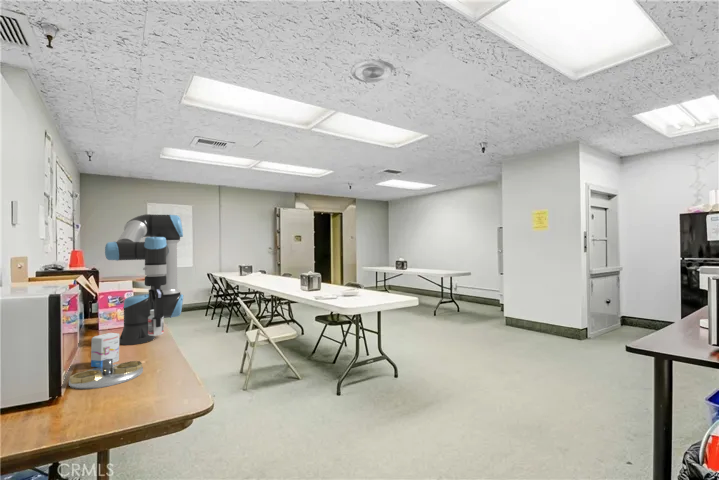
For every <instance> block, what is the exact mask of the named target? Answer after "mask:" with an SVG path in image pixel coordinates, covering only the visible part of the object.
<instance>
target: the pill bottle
mask: <svg viewBox="0 0 719 480" xmlns="http://www.w3.org/2000/svg"><path fill="white" fill-rule="evenodd" d="M150 314H151V315H150V316H149V317H148V335H150V336H154V319H152V318H154V309H153V310H150ZM159 315H160V314H159ZM164 321H165V318H164V316H163V317H162V335H163V334H164V333H165V331H164V329H165V328H164V324H165V323H164Z"/></svg>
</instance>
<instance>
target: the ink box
mask: <svg viewBox="0 0 719 480" xmlns="http://www.w3.org/2000/svg"><path fill="white" fill-rule="evenodd" d="M90 347H91V351H90V354H91V355H90V367H92V368H98V367H103V360H105V359H113V364H115V363H117V362H119V361H120V333H116V332H107V333H104V334H98V335H95V336H93V337H91V346H90Z"/></svg>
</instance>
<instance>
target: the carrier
mask: <svg viewBox="0 0 719 480" xmlns="http://www.w3.org/2000/svg"><path fill="white" fill-rule="evenodd" d="M143 372H144V368H143V363H142V361H140V360H139V361H137V360H134V361H125V362H121V363H118V364H117V363H113V359H105V360H103V367H93V368H91V369H88V370H85V371H81V372H76V373H74V374H72V375H70V376H69V379H68V387H69V386H70V387H69V388H71V389H74V388H75V389H74V390H93V389H94V390H95V389H102V388H107V387H112V386H116V385H120V384H123V383H126V382H129V381H132V380H134V379H136V378H138V377H139V376H140V375H142V374H143Z"/></svg>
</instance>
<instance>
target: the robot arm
mask: <svg viewBox="0 0 719 480" xmlns="http://www.w3.org/2000/svg"><path fill="white" fill-rule="evenodd" d="M183 237H184V232H183V224H182V220H181V217H180V216H179V215H177V214H148V213H147V214H142V215H138V216H136V217H133V218H130V220H128V221H127V222H126V224H124V228H123V232H122V234H121V235H120V237H118V240H117V241H108V242H106V244H105V247H104V254H105V259H107V260H108V261H117V262H118V261H138V260H139V261H142V260H143V261H144V267H142V270H143V271H144V275H145V277H144V286H146V287H150V289H148V290H147V291H148V293H142V294H137V295H132V296H129V297H126V298H125V299H124V301H123V308H122V309H123V328H122V330H121V331H122V332H121V334H120V335H119V345H124V346H127V345H128V346H129V345H139V344H140V345H141V344H145V342H146V343H148V342H147V341H149V342H151V341H150V340H152V341H154V340H155V339H156V337H157V336H161V335H163V334H162V317H163V316H164V319H169V318H171V319H172V318H177V317H179V316H181V314H182V310H183V309H182V308H183V302H184V294H182V293H181V290H180V289H178V249H177V248H178V243H179V242H180V241H181V238H183ZM143 238H144V241H141V239H143ZM153 309H154V318H152V319H154V336H150V335H148V317H149V316H150V315H151V314H150V310H153ZM159 314H160V315H159ZM154 338H155V339H154ZM153 339H154V340H153Z"/></svg>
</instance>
